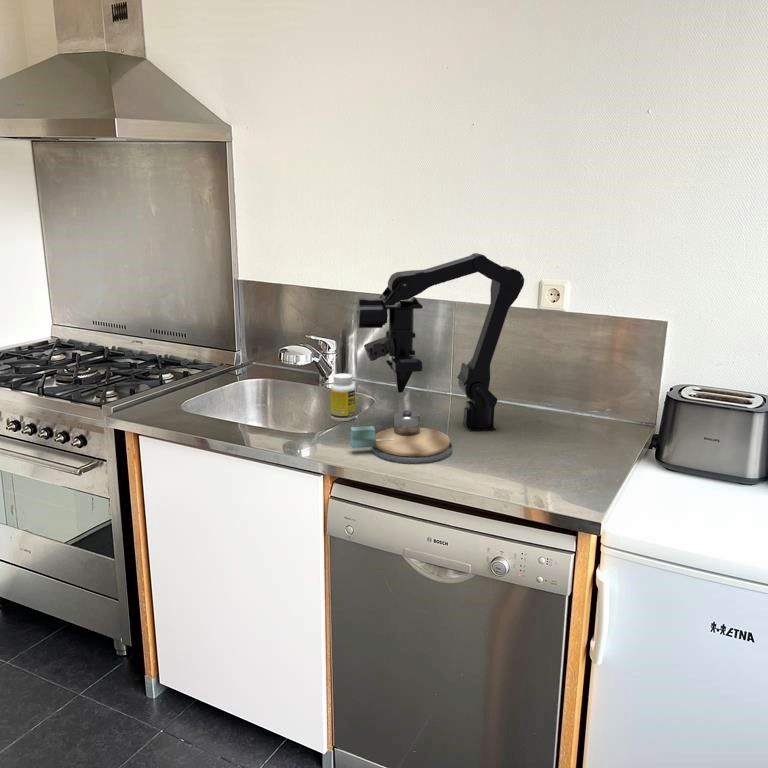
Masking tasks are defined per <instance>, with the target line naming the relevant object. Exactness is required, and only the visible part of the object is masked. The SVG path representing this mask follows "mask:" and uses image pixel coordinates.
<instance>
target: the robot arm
mask: <svg viewBox="0 0 768 768" xmlns="http://www.w3.org/2000/svg"><path fill="white" fill-rule="evenodd" d="M476 273H479V274H481V275H483V276H484V277H486V278H488V279H489V280H491V282H490V303H489V307H488V310H487V313H486V315H485V318H484V322H483V324H482V328H481V332H480V334H479V337H478V340H477V343H476V346H475V349H474V352H473V356H472V358H471V359H470V360H469V362H468V363H465V362H462V363H461V365H460V366H461V367H460V371H459V374H458V375H457V377H456V379H458V387H459V389H460V390H461V392H462V393H463V394H464V395H465V397H466V399H468V400H467V401H466V403H465V404H466V405H465V406H466V407H464V408H463V424H464V426H465V427H466V428H467V429H468V430H469V431H470V432H477V431H478V432H479V431H480V432H481V431H496V430H497V427H496V426H495V421H494V420H495V407H496V404H497V402H498V398H497V397H496V395H494V394H493V393H492V392H491V391H490V390H489V389H490V383H491V364H492V360H493V358H494V354H495V352H496V351H495V350H496V348H497V345H498V342H499V340H500V336H501V333H502V330H503V327H504V323H505V321H506V317H507V314H508V312H509V309H510V307H511V306H512V305H513V304H514V303H515V301H516V300H517V299H518V298H519V295H520V293H521V291H523V287H524V285H525V278H524V275H523V274H522V273H521V271H519V270H518V269H516V268H512V267H509V266H506V265H505V266H502V265H500V264H498V263H496V262H494V261H493V260H491V259H489V258H487V256H486V255H484V254H481V253H479V252H476V253H475V252H474V253H472V254H470V255H467V256H465V257H461V258H459V259H455V260H451V261H448V262H445V263H441V264H439V265H435V266H432V267H429V268H426V269H414V270H413V269H412V270H403V271H396V272H393V273H392V274H391V275H390V277H389V279H388V281H387V286H386V288H385V289H384V290H383V292H382V293H381V295H380V296H379V297H378V298H362V297H361V298H358V300H357V307H356V308H357V309H356V311H355V315H356V316H355V317H356V327H357V329H382V328H383V326H385V325H386V324H387V323H388V329H387V330H386V331H385V336H384V337H381V338H378V339H376V340H373V341H371V342H368V343H366V344H364V345H363V347H364V351H365V352H366V356H367V358H368V359H369V361H371V362H372V361H377V359H379V358H382V357H386V356H387V355H388V360H385V363H386V364H387V365H388V366H389V368H390V369H391V370H392V372H393V376H394V381H395V385H396V389H397V390H396V391H397V392H398V393H404V390H405V388H406V386H407V384H408V382H409V380H410V379H411V376H412V375H413V373H414V372H422V371H423V362H422V361H421V360H420V359H419V358H418V357H417V356H416V350H415V349H414V339H416V333H415V331H414V318H415V313H414V312H415V309H416V310H417V309H419V310H422V309H423V308H424V305H423V304H421V303H420V302H419V301H418V299H417V298H416V296H418V295H420V294H421V293H423V292H424V291H426V290H427V289H429V288H431V287H433V286H437V285H440V284H443V283H446V282H449V281H452V280H456V279H460V278H463V277H467V276H470V275H472V274H476Z"/></svg>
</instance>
